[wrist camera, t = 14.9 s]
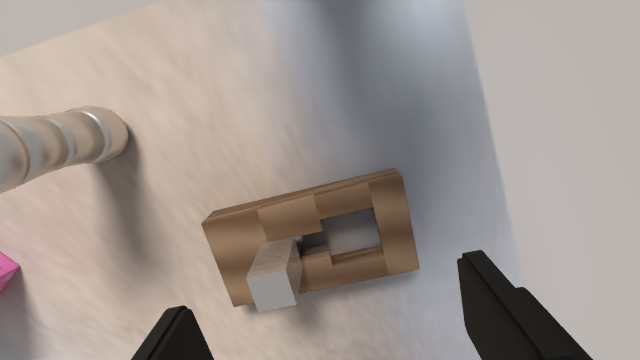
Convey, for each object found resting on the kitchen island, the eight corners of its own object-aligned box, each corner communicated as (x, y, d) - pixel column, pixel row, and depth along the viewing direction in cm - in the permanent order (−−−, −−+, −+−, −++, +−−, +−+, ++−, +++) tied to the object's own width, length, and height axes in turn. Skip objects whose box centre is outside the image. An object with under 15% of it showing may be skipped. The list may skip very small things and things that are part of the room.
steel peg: (266, 226, 41) (243, 276, 30) (299, 219, 41) (287, 267, 29) (276, 255, 42) (256, 314, 31) (307, 248, 42) (299, 306, 31)
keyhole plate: (213, 211, 41) (201, 223, 37) (394, 168, 38) (401, 176, 34) (242, 288, 44) (233, 307, 40) (411, 252, 41) (419, 269, 38)
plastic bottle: (144, 149, 39) (-40, 208, 19) (96, 163, 39) (-128, 233, 20) (122, 98, 37) (-104, 106, 18) (72, 113, 38) (-198, 137, 18)
